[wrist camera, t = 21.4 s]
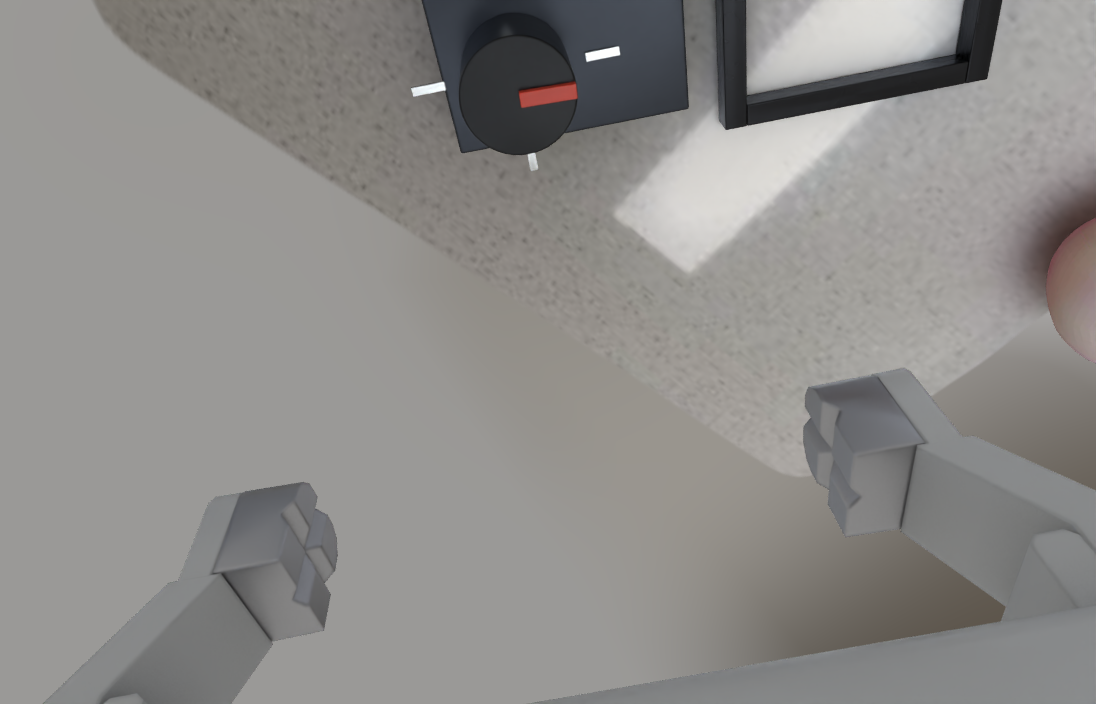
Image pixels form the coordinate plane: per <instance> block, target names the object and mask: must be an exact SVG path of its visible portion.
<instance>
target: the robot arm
mask: <svg viewBox="0 0 1096 704" xmlns="http://www.w3.org/2000/svg"><path fill="white" fill-rule="evenodd" d="M805 408H806V409H807V411H808V413H809V415H810V417H811V418H810V419H809V421H808V422H807V423H806V424H805V425H804V430H803V443H804V448H805V454H806V459H807V462H808V464H809V467H810V470H811V472H812V474H813V476H814V478H815V480H816V482H817V483H818V484H820V485H822V486H823V487H825V488H827V489H828V490H829V497H828V505H829V507H830V509H831V511H832V513H833V514H834V516H835V519H836V521H837V523H838V524H839V526H840V528H841V530H842V532H843V534H844V536H845V537H851V536H857V535H864V534H871V533H876V532H883V531H890V530H896V529H901V532H902V533H903V534H905V535H906V536H908V537H909V538H910V539H912V540H913V541H915V542H916V543H917V544H919V545H920V546H922V547H923V548H924V549H926V550H927V551H929V552H930V553H931V554H933V555H934V556H936V557H937V558H938V559H940V560H941V561H943V562H944V563H946V564H947V565H948V566H950V567H951V568H952V569H954V570H955V571H957V572H958V573H959V574H961V575H962V576H964V577H965V578H967V579H968V580H969V581H971V582H972V583H974V584H975V585H977V586H978V587H979V588H980V589H982V590H983V591H985V592H986V593H987V594H989V595H991V596H992V597H993V598H995V599H996V600H997V601H999V602H1000V603H1002V604H1003V605H1004V606H1006V609H1005V612H1004V614H1003V617H1002V620H1001V622H995V623H990V624H984V625H978V626H972V627H967V628H962V629H955V630H950V631H944V632H938V633H933V634H926V635H920V636H915V637H909V638H904V639H897V640H892V641H886V642H880V643H874V644H868V645H863V646H857V647H851V648H845V649H839V650H834V651H828V652H822V653H817V654H811V655H806V656H799V657H794V658H788V659H782V660H776V661H771V662H765V663H759V664H753V665H748V666H742V667H736V668H731V669H725V670H719V671H713V672H708V673H702V674H696V675H691V676H685V677H679V678H673V679H668V680H662V681H656V682H650V683H645V684H639V685H633V686H628V687H622V688H616V689H610V690H605V691H599V692H593V693H587V694H581V695H575V696H570V697H564V698H558V699H553V700H547V701H541V702H535V703H529V704H1096V491H1095V490H1093V489H1091V488H1089V487H1086V486H1084V485H1082V484H1080V483H1078V482H1075V481H1073V480H1071V479H1069V478H1067V477H1064V476H1062V475H1059V474H1058V473H1055V472H1053V471H1051V470H1049V469H1047V468H1044V467H1042V466H1040V465H1038V464H1035V463H1033V462H1031V461H1029V460H1026V459H1024V458H1022V457H1020V456H1018V455H1015V454H1013V453H1011V452H1009V451H1006V450H1004V449H1002V448H1000V447H998V446H996V445H993V444H991V443H989V442H986V441H984V440H982V439H980V438H978V437H975V436H967V437H963V436H962V435H961V434H960V432H959V431H958V430H957V429H956V427H955V426H954V425H953V424H952V422H951V421H950V420H949V419H948V418H947V416H946V415H945V414H944V412H943V411H942V410H941V409H940V407H939V406H938V405H937V404H936V402H935V401H934V400H933V399H932V397H931V396H930V395H929V394H928V392H927V391H926V390H925V389H924V388H923V386H922V385H921V384H920V383H919V381H918V380H917V379H916V378H915V376H914V375H913V374H912V373H911V371H909V370H907V369H905V368H901V369H896V370H891V371H886V372H881V373H876V374H872V375H871V376H870V375H867V376H862V377H857V378H852V379H847V380H842V381H837V382H831V383H826V384H821V385H816V386H811V387H808V389H807V391H806V394H805ZM316 502H317V495H316V494H315V492H314V490H313V488H312V487H311V485H310V484H309V483H304V482H301V483H294V484H288V485H282V486H276V487H270V488H264V489H257V490H251V491H245V492H244V493H237V494H231V495H224V496H218V497H215V498H214V499H213V500H212V501H211V502H210V503H209V504H208V505H207V508H206V510H205V513H204V516H203V518H202V521H201V523H200V526H199V528H198V531H197V533H196V536H195V538H194V541H193V544H192V546H191V549H190V551H189V554H188V557H187V559H186V561H185V564H184V567H183V569H182V572H181V574H180V577H179V579H178V581H175V582H170V583H168V584H167V585H166V586H165V587H164V588H163V589H162V590H161V591H160V592H159V593H158V594H157V595H156V596H155V597H153V598H152V599H151V600H150V601H149V602H148V603H147V604H146V605H145V606H144V607H143V608H142V609H141V610H140V611H139V612H138V613H137V614H136V615H135V616H134V617H133V618H132V619H131V620H130V621H129V622H127V623H126V624H125V625H124V626H123V627H122V628H121V629H120V630H119V631H118V632H117V633H116V634H115V635H114V636H113V637H112V638H111V639H110V640H109V641H108V642H107V643H106V644H105V645H104V646H102V647H101V648H100V649H99V650H98V651H97V652H96V653H95V654H94V655H93V656H92V657H91V658H90V659H89V660H88V661H87V662H86V663H85V664H84V665H83V666H82V667H81V668H80V669H79V670H77V671H76V672H75V673H74V674H73V675H72V676H71V677H70V678H69V679H68V680H67V681H66V682H65V683H64V684H63V685H62V686H61V687H60V688H59V689H58V690H57V691H56V692H55V693H53V695H51V696H50V697H49V698H48V699H47V700H46V701H45V702H44V703H43V704H231V703H232V701H233V700H234V699H235V697H236V696H237V695H238V693H239V692H240V690H241V689H242V688H243V686H244V685H245V683H246V682H247V680H248V679H249V677H250V676H251V675H252V673H253V672H254V671H255V669H256V668H257V666H258V665H259V663H260V662H261V661H262V659H263V658H264V656H265V655H266V654H267V652H268V650H269V649H270V648H271V646H272V645H273V643H272V641H277V640H281V639H286V638H291V637H296V636H301V635H306V634H311V633H315V632H320V631H324V627H325V622H326V616H327V612H328V606H329V601H330V595H331V594H330V592H329V590H328V589H327V587H326V586H325V584H324V583H325V582H326V581H327V580H328V578H329V577H330V576H331V575H332V573H333V572H334V571H335V568H336V562H337V556H338V554H337V538H336V534H335V531H334V528H333V524H332V522H331V520H330V519H329V517H328V515H327V514H325V513H323V512H321V511H319V510H317V509H315V506H316Z"/></svg>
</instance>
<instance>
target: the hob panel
mask: <svg viewBox="0 0 1096 704" xmlns="http://www.w3.org/2000/svg"><path fill="white" fill-rule="evenodd" d="M422 3H423V7H424V11H425V15H426V19H427V23H428V27H429V31H430V35H431V38H432V42H433V46H434V50H435V54H436V58H437V62H438V66H439V69H440V73H441V77H442V81H440V82H435V83H430V84H425V85H420V86H415V87H411V90H412V94H413V97H416V96H421V95H426V94H430V93H435V92H440V91H445V93H446V97H447V100H448V104H449V108H450V112H451V116H452V120H453V124H454V128H455V131H456V135H457V139H458V143H459V147H460V151H461V153H467V152H472V151H477V150H482V149H487V148H489V147H488V146H486V145H484V144H483V143H482V142H481V141H479V140H478V139H477V138H476V137H475V136H474V135H473V133H472V132H471V131H470V130H469V128H468V126H467V125H466V123H465V121H464V119H463V116H462V114H461V110H460V106H459V94H458V91H459V80H460V69H461V59H462V55H463V51H464V48H465V46H466V44H467V42H468V40H469V38H470V37H471V35H472V34H473V33H474V32H475V31H476V30H477V28H478V27H479V26H481V25H482V24H483V23H485V22H486V21H488V20H490V19H491V18H494V17H496V16H499V15H503V14H509V13H521V14H526V15H530V16H533V17H535V18H537V19H539V20H541V21H543V22H544V23H546V24H547V25H549V26H550V27H551V28H552V29H553V30H554V31H555V32H556V34H557V35H558V36H559V38H560V39H561V41H562V43H563V45H564V47H565V49H566V52H567V55H568V58H569V61H570V64H571V67H572V70H573V73H574V76H575V79H576V83H577V92H578V98H577V106H576V111H575V114H574V117H573V119H572V121H571V123H570V125H569V127H568V128H567V130H566V131H565V133H568V132H573V131H579V130H584V129H589V128H594V127H599V126H604V125H609V124H614V123H619V122H624V121H629V120H634V119H639V118H644V117H649V116H654V115H660V114H665V113H670V112H675V111H680V110H685V109H688V107H689V101H688V83H687V65H686V47H685V29H684V11H683V0H422ZM527 156H528V161H529V166H530V171H534V170H538V164H537V159H536V153H531V154H527Z"/></svg>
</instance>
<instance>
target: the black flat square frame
mask: <svg viewBox="0 0 1096 704" xmlns="http://www.w3.org/2000/svg"><path fill="white" fill-rule="evenodd" d="M1001 4H1002V0H965V2H964V8H963V14H962V20H961V27H960V33H959V39H958V45H957V51H956V55H951V56H946V57H941V58H936V59H931V60H926V61H921V62H916V63H911V64H906V65H901V66H896V67H891V68H886V69H881V70H875V71H870V72H865V73H860V74H855V75H850V76H845V77H840V78H835V79H830V80H825V81H820V82H815V83H810V84H805V85H800V86H794V87H789V88H784V89H779V90H774V91H769V92H764V93H759V94H754V95H749V96H747V76H746V0H716V28H717V61H718V94H719V121H720V123H721V124H722V125H723V127H724V128H725V129H726V130H729V129H734V128H739V127H744V126H747V125H748V126H749V125H754V124H759V123H764V122H769V121H774V120H779V119H784V118H789V117H795V116H800V115H805V114H810V113H815V112H820V111H825V110H830V109H835V108H841V107H846V106H851V105H856V104H861V103H866V102H871V101H876V100H881V99H887V98H892V97H897V96H902V95H907V94H912V93H917V92H922V91H928V90H933V89H938V88H943V87H948V86H953V85H958V84H963V83H969V82H974V81H979V80H985V79H987V77H988V72H989V67H990V62H991V57H992V51H993V46H994V41H995V36H996V30H997V25H998V20H999V15H1000V10H1001Z"/></svg>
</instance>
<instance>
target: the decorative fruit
mask: <svg viewBox="0 0 1096 704" xmlns="http://www.w3.org/2000/svg"><path fill="white" fill-rule="evenodd" d="M1046 295H1047V302H1048V307H1049V311H1050V315H1051V317H1052V320H1053V323H1054V326H1055V328H1056V330H1057V332H1058V333H1059V335H1060V336H1061V337H1062V338H1063V340H1064V341H1065V342H1066V343H1067V344H1068V345H1069V346H1070V347H1071V348H1072V349H1074V350H1075V351H1076V352H1077V353H1079V354H1080V355H1081V356H1083V357H1084V358H1086V359H1087V360H1089V361H1092V362H1094V363H1096V218H1094V219H1092V220H1090V221H1088V222H1086V223H1084V224H1083V225H1081V226H1080V227H1078V228H1077V229H1076V230H1074V231H1073V232H1072V233H1071V234H1070V235H1069V236H1068V237H1067V238H1066V239H1065V240H1064V241H1063V242H1062V243H1061V245H1060V246H1059V247H1058V249H1057V250H1056V252H1055V254H1054V256H1053V258H1052V260H1051V262H1050V265H1049V269H1048V275H1047V282H1046Z"/></svg>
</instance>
